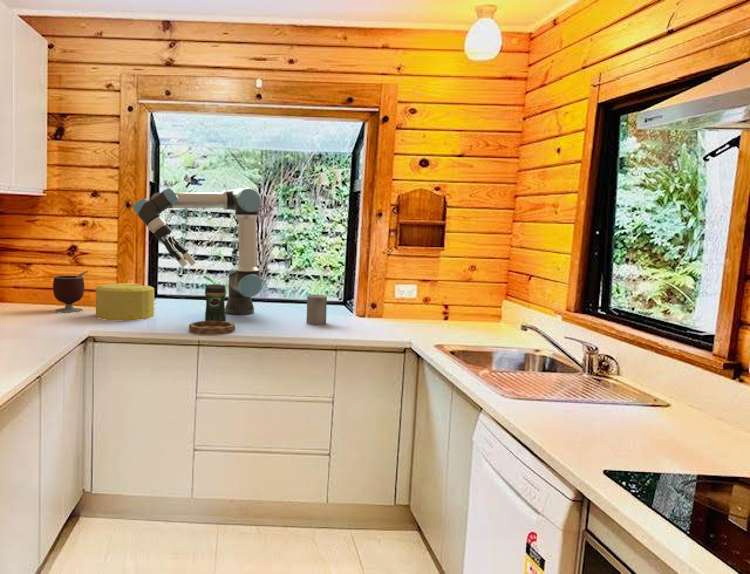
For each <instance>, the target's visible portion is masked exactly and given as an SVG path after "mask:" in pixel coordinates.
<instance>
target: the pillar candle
mask: <svg viewBox="0 0 750 574" xmlns="http://www.w3.org/2000/svg"><path fill="white" fill-rule="evenodd" d="M327 299H328V297H327V295H325V294H319V293H316V294H308V295H307V296H306V324H307V325H311V326H312V325H313V326H319V325H320V326H321V325H326V324H327V304H328V303H327Z"/></svg>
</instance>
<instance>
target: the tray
mask: <svg viewBox="0 0 750 574" xmlns="http://www.w3.org/2000/svg"><path fill="white" fill-rule="evenodd" d="M189 330H190V332H191V333H192V332H193V333H194V334H198V335H225V334H231V333H233V332H235V331H236V324H235V323H234V322H231V321H227V320H226V321H205V320H201V321H194V322H191V323H188V331H189ZM234 330H235V331H234Z"/></svg>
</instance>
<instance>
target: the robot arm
mask: <svg viewBox="0 0 750 574" xmlns="http://www.w3.org/2000/svg"><path fill="white" fill-rule="evenodd" d="M262 199H263V198H262V196H261V194H260V192H259V191H257V190H256V189H254V188H251V187H243V188H236V189H230V190H229V189H228V190H222V192H175V191H174V190H173V189H172V188H171V187H167V188H166V189H164V190H162V191H161V192H155V193H153V194H152V195H151V197H150V199H149V200H148V199H147V198H141V199H139V200H138V201H136V202H135V203H134V205H133V206H132V209H133V211H134V212H135V213H136V215H137V216H138V217H139V218H140V220H141V221H142V222H143V224H145V226H146V227H147V228H148V231H150V232H151V233H153V236H154V237H155V238H156V240H158V241H161V242H162V243H163V245H164V247H165V248H166V250H167V252H168V253H169V255H170V257H171V258H173V257H174V259H175V260H176V261H177V262H178V263H179V264H180V266H181V267H182V268H184V267H185V266H187V265H188V263H189V265H190V267H193V266H194V265H195V264H197V261H196V260H195V259H194V257H192V255H191V254H190V253H189V249H187V248H186V247H185V246H184V244H182V243H181V242H180V241H179V240H178V239H177V237H175V236H174V235H171V233H172V232H173V231H172V229H171V227H170V226H169V225H168V224H167V223H166V221H165V220H164V218H162V217H161V215H160V214H161V213H162V212H164V211H166V210H168V209H208V208H211V209H212V208H213V209H215V208H216V209H217V208H218V209H221V208H222V209H223V210H224V211H225V210H228V211H229V210H231V211H234V216H236V218H237V219H238V223H237V224H238V267H237V268H233V269H229V271H228V298H227V301H226V304H225V312H226V313H225V314H228V313H231V314H230V315H251V314H252V315H253V314H254V313H255V307H254V304H253V300H252V298H253V297H255V296H257V295H259V294H260V292H261V291H262V288H263V281H262V279H261V277H260V276H261V275H260V268H258V266H257V218H258V217H259V216H260V209H261V208H260V207H261V206H262V203H263V202H262ZM180 253H181V254H180Z"/></svg>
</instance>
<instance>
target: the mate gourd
mask: <svg viewBox="0 0 750 574" xmlns="http://www.w3.org/2000/svg"><path fill="white" fill-rule="evenodd" d="M86 273H88V270H86V271H82V272H81V273H79V274H78V275H56V276H55V275H54V276H53V281H52V292H53V297H54V298H55V299H56V300H57V301H58V302H61V303H64V305H65V306H64V307H61V308H55V309H54V310H55V311H56V312H55V311H54V312H55V313H58V312H61V313H60V314H62V313H63V314H72V313H71V312H76V313H81V312H83V311H84V310H83V308H79V307H74V306H73V304H75V303H77V302H79V301H81V300H82V298H83V296H84V293H85V281H84V276H83V275H85V274H86ZM80 311H81V312H80Z"/></svg>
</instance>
